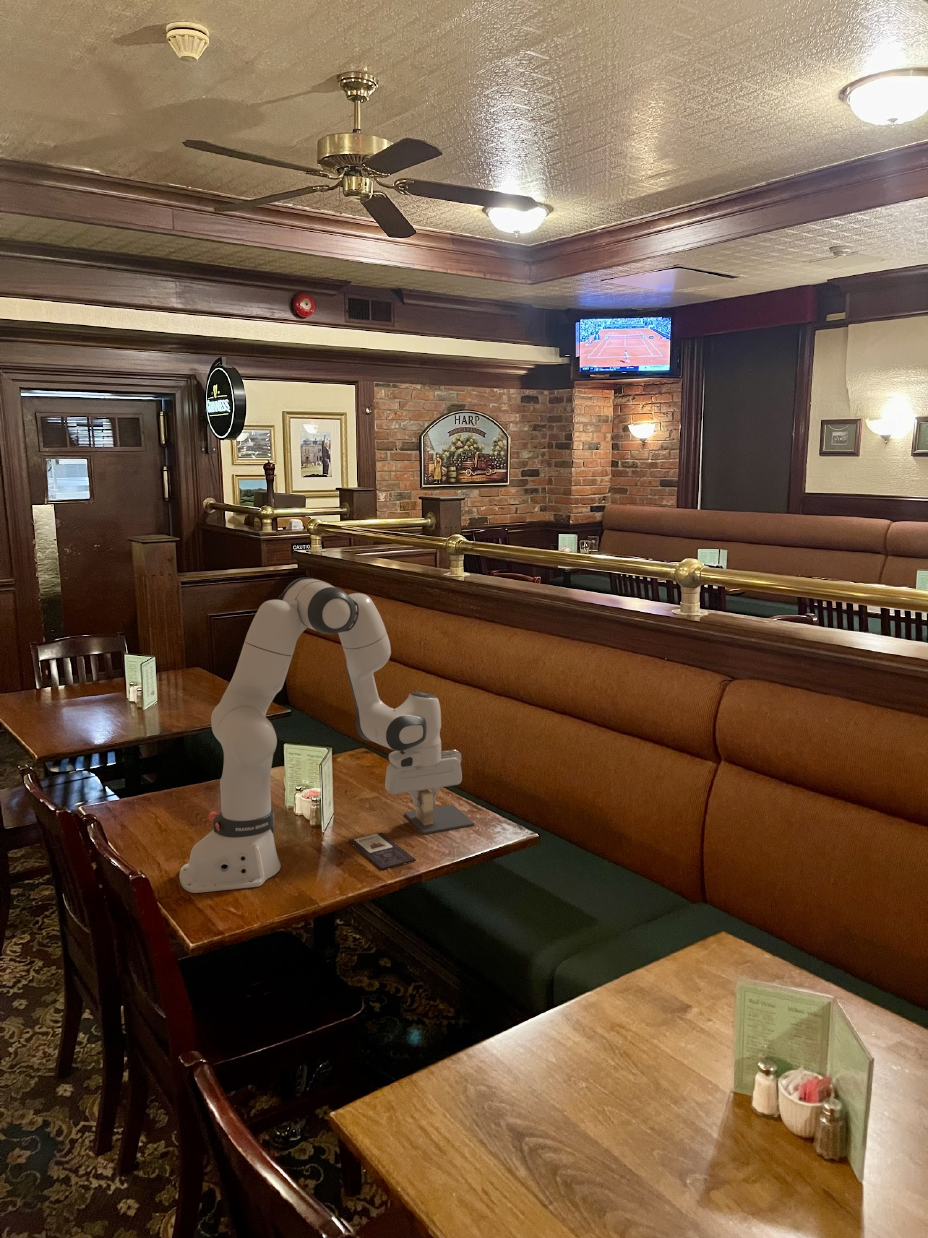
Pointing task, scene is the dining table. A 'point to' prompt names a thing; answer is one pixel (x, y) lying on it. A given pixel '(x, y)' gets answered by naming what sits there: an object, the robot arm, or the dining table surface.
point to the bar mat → (442, 819)
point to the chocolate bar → (382, 851)
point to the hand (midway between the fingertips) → (424, 804)
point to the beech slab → (425, 807)
